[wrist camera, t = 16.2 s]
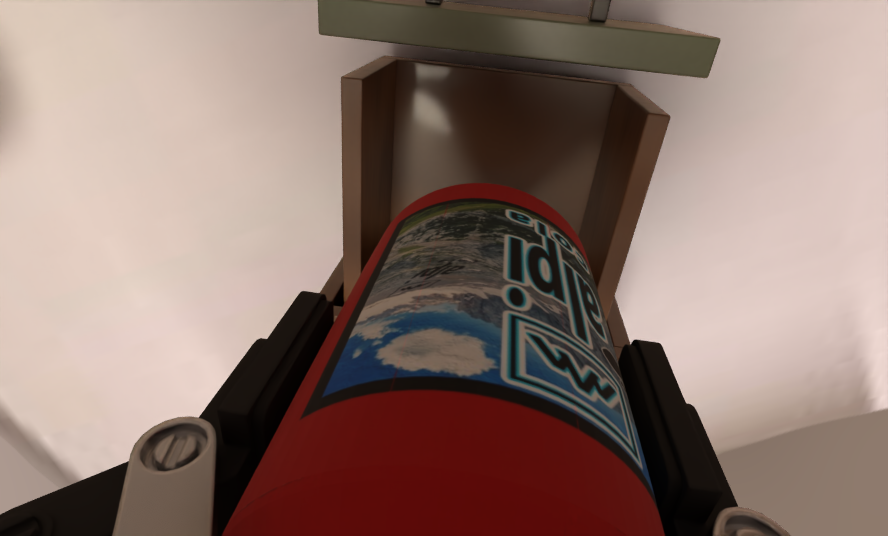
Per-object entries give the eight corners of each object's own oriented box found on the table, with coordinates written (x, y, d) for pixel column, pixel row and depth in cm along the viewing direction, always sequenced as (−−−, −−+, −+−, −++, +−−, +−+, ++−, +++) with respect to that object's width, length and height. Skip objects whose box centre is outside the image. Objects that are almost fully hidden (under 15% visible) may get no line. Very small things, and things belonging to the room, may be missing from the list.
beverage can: (634, 248, 15) (905, 828, 5) (507, 382, 18) (498, 903, 8) (445, 127, 14) (245, 527, 4) (345, 292, 17) (86, 758, 7)
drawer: (373, -159, 20) (309, -228, 14) (705, -130, 19) (798, -189, 13) (367, 275, 30) (328, 350, 24) (583, 306, 29) (602, 392, 23)
